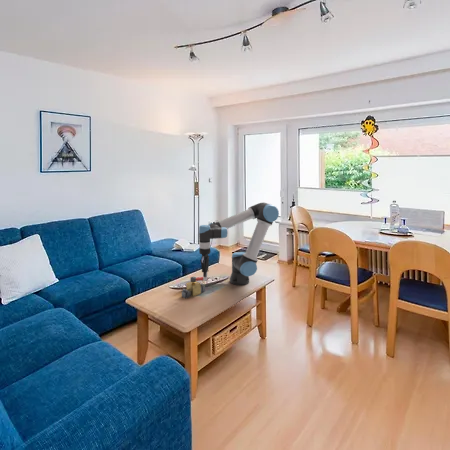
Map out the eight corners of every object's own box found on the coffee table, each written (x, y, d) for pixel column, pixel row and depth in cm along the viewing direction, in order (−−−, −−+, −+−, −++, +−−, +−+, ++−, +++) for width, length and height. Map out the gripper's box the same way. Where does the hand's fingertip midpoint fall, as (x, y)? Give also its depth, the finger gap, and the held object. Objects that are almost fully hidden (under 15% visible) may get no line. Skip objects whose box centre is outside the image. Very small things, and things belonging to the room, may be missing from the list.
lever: (190, 282, 218) (190, 279, 218) (190, 280, 222) (190, 276, 222) (208, 280, 221) (207, 277, 220) (207, 278, 225) (207, 275, 224)
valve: (200, 288, 231) (200, 276, 229) (206, 291, 226) (206, 279, 224) (180, 296, 219) (179, 283, 217) (186, 299, 214) (186, 286, 212)
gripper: (202, 245, 223) (203, 277, 227) (196, 249, 211) (197, 283, 215) (212, 246, 221) (213, 278, 225) (207, 250, 209) (207, 284, 213)
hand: (205, 280), depth 220 cm, fingers closed
